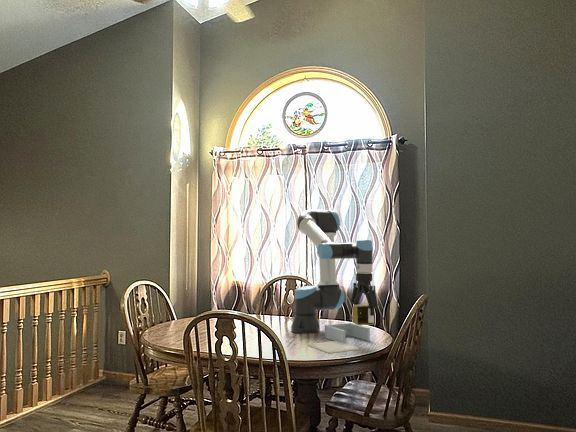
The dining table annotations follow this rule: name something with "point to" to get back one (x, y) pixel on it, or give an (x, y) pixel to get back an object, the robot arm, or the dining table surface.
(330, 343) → the tile
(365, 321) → the flower pot
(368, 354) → the dining table surface
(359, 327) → the shelf bay
